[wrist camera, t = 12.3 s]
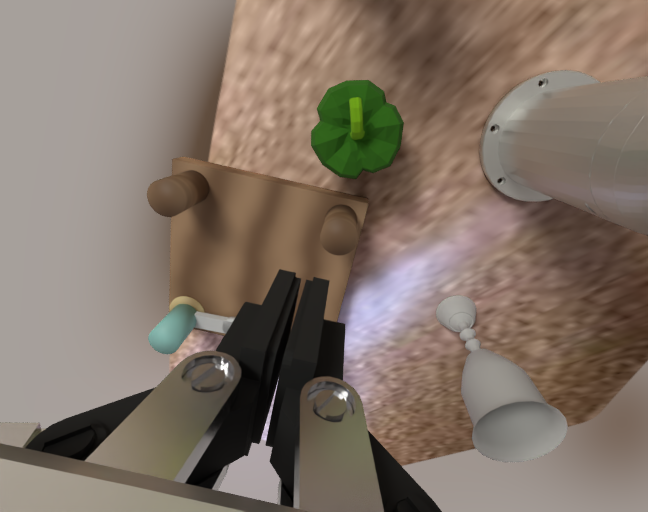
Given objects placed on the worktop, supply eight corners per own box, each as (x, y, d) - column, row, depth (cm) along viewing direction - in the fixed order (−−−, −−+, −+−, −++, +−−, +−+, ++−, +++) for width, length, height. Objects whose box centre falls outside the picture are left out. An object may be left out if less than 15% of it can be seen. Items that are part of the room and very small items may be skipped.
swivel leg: (172, 301, 43) (147, 326, 38) (244, 315, 43) (230, 342, 38) (172, 324, 44) (149, 350, 39) (242, 337, 44) (228, 366, 39)
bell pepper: (380, 178, 37) (388, 198, 28) (310, 157, 37) (296, 170, 28) (408, 99, 34) (427, 93, 25) (331, 75, 34) (323, 60, 25)
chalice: (441, 342, 45) (490, 471, 29) (418, 304, 43) (457, 420, 27) (493, 319, 43) (579, 445, 27) (472, 279, 41) (550, 388, 25)
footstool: (367, 198, 38) (371, 219, 31) (328, 347, 47) (322, 392, 39) (183, 156, 38) (139, 166, 31) (177, 313, 47) (142, 352, 39)
